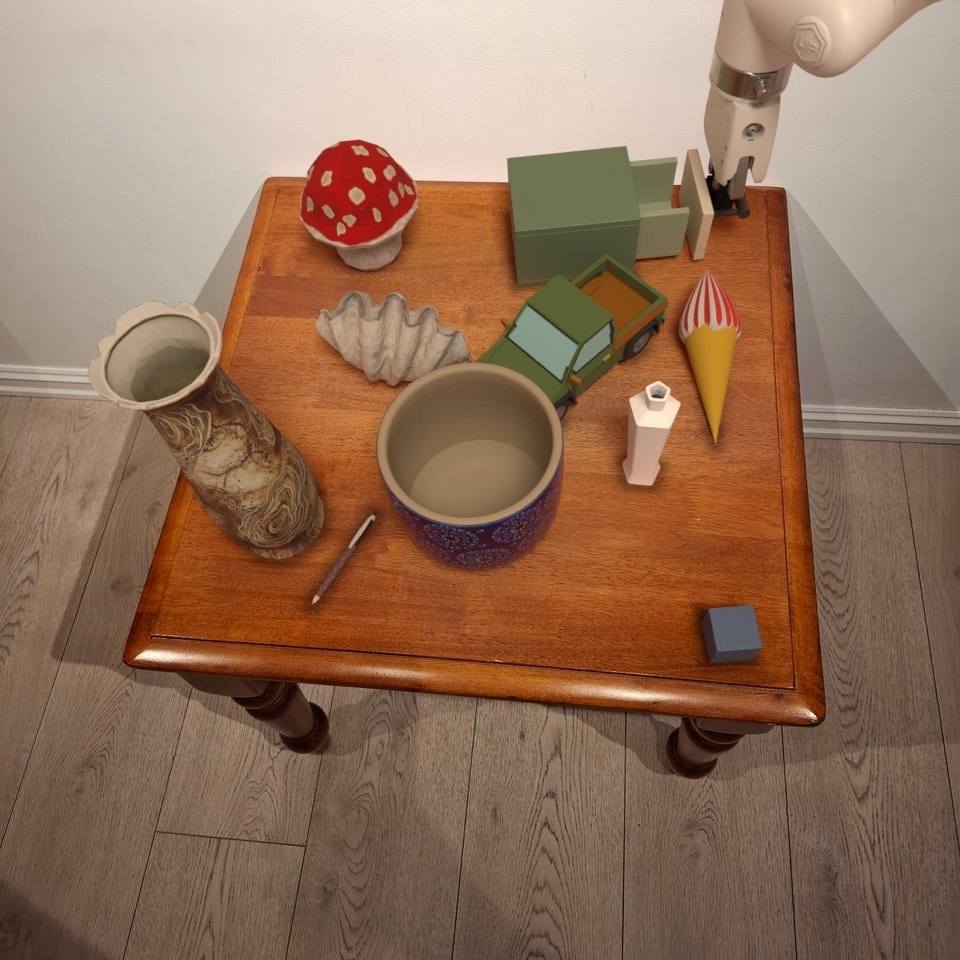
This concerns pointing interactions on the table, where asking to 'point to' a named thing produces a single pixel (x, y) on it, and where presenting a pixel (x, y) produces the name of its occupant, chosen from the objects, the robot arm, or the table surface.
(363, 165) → the decorative mushroom
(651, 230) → the drawer
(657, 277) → the table surface
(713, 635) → the block
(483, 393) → the planter
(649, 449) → the perfume bottle
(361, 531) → the pen
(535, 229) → the cabinet
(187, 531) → the table surface
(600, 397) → the table surface
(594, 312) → the toy truck
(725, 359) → the ice cream cone
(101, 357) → the vase
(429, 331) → the seashell
